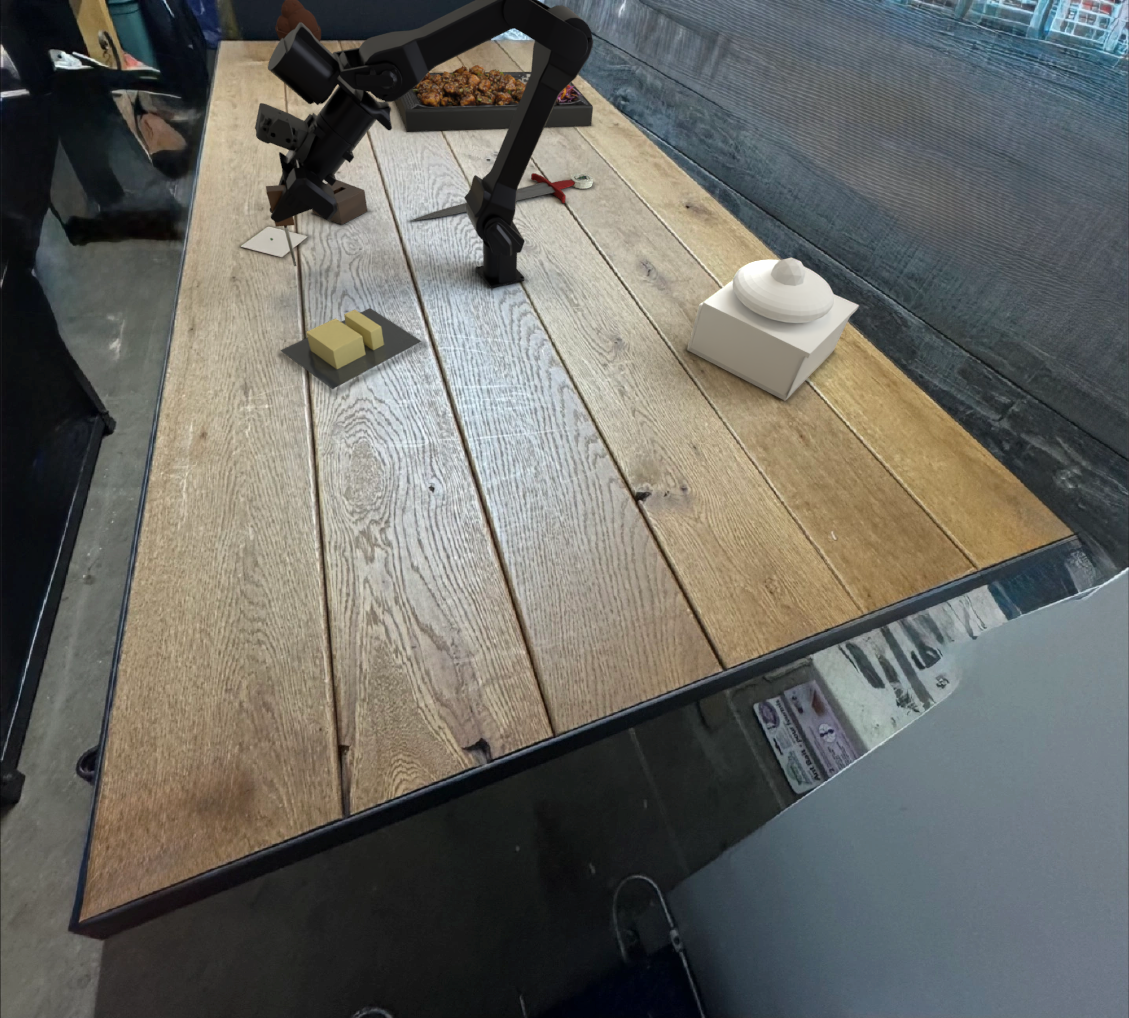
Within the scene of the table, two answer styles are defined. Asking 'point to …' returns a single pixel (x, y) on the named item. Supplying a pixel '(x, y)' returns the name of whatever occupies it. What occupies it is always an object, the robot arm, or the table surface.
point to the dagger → (529, 192)
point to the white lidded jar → (771, 325)
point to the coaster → (273, 241)
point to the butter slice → (365, 329)
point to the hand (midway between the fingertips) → (273, 216)
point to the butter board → (393, 345)
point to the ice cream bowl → (296, 19)
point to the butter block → (336, 343)
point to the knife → (273, 198)
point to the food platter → (481, 102)
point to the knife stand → (347, 202)
